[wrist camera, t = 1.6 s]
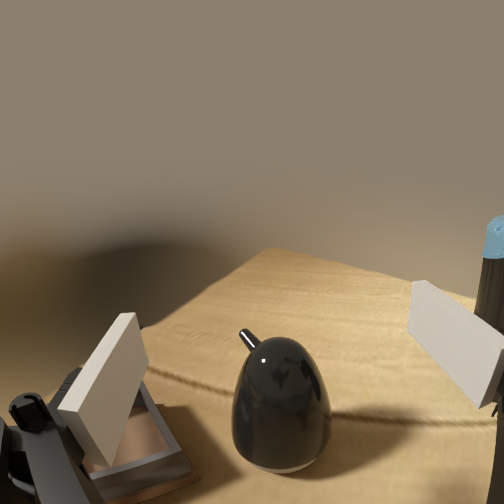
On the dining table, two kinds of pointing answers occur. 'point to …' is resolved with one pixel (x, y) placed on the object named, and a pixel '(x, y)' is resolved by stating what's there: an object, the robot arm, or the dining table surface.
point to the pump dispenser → (280, 406)
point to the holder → (143, 458)
